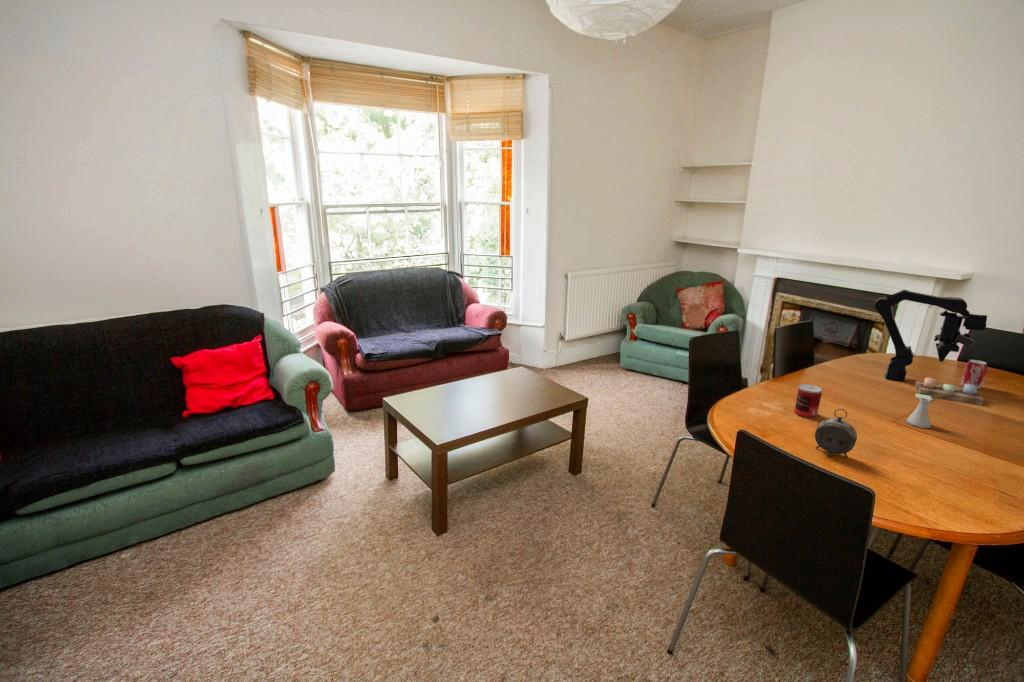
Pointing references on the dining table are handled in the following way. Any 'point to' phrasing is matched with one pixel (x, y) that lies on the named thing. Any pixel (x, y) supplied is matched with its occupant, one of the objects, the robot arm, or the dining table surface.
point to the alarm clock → (835, 435)
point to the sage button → (948, 387)
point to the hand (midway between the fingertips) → (940, 361)
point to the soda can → (974, 373)
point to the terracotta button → (929, 383)
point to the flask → (920, 415)
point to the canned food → (808, 400)
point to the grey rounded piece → (969, 389)
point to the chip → (923, 396)
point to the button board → (949, 394)
